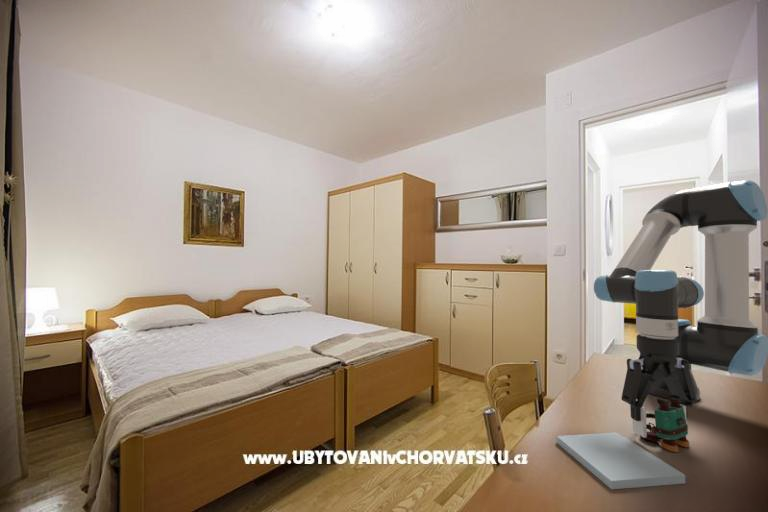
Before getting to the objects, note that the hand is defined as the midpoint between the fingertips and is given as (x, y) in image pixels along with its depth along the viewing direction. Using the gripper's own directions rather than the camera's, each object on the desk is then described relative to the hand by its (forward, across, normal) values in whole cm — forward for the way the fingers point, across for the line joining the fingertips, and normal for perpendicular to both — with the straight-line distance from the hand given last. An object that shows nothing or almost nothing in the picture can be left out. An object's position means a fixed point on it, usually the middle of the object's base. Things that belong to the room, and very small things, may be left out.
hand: (659, 433), depth 72 cm
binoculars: (+2, 0, 0) cm, 2 cm away
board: (+2, -17, -6) cm, 18 cm away
